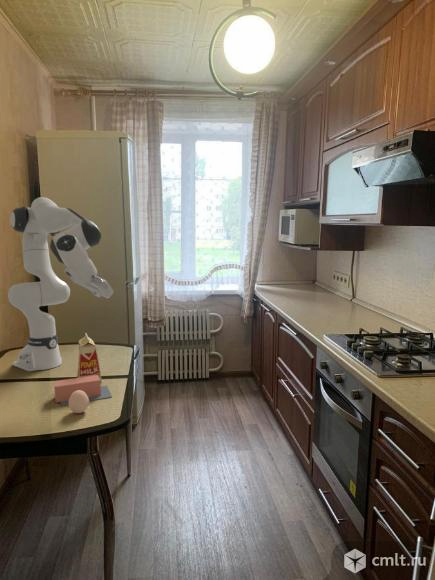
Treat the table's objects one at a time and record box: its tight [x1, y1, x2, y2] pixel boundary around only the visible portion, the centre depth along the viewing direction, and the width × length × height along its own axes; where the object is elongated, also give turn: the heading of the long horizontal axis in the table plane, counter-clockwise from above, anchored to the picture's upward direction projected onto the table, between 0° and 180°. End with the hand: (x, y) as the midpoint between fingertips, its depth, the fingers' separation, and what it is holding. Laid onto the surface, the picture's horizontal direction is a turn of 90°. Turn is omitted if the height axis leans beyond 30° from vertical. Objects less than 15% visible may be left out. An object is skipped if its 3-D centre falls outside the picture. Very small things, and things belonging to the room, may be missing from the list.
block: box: [53, 375, 102, 404], centre depth 154 cm, size 6×6×16 cm
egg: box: [68, 390, 90, 414], centre depth 141 cm, size 7×7×8 cm
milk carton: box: [76, 332, 103, 383], centre depth 168 cm, size 9×9×20 cm
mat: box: [59, 385, 113, 407], centre depth 155 cm, size 18×12×1 cm, turn 113°
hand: (98, 295), depth 164 cm, fingers closed
